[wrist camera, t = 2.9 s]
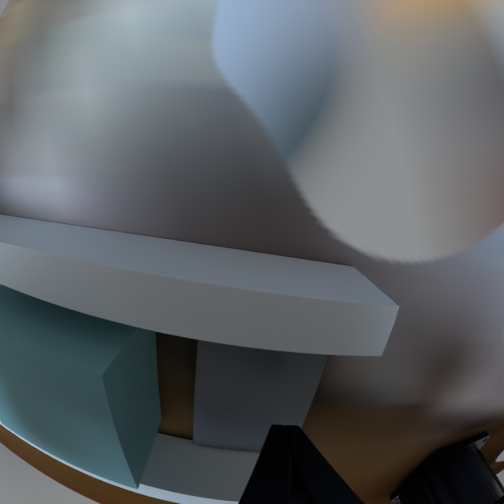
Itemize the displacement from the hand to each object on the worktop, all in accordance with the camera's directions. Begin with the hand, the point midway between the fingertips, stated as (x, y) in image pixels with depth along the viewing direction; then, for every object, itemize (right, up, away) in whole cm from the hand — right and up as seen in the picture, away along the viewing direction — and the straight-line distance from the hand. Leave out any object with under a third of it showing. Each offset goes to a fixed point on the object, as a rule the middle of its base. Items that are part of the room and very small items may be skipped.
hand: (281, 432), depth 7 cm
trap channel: (-6, +1, +2) cm, 6 cm away
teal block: (-8, +2, +2) cm, 8 cm away
